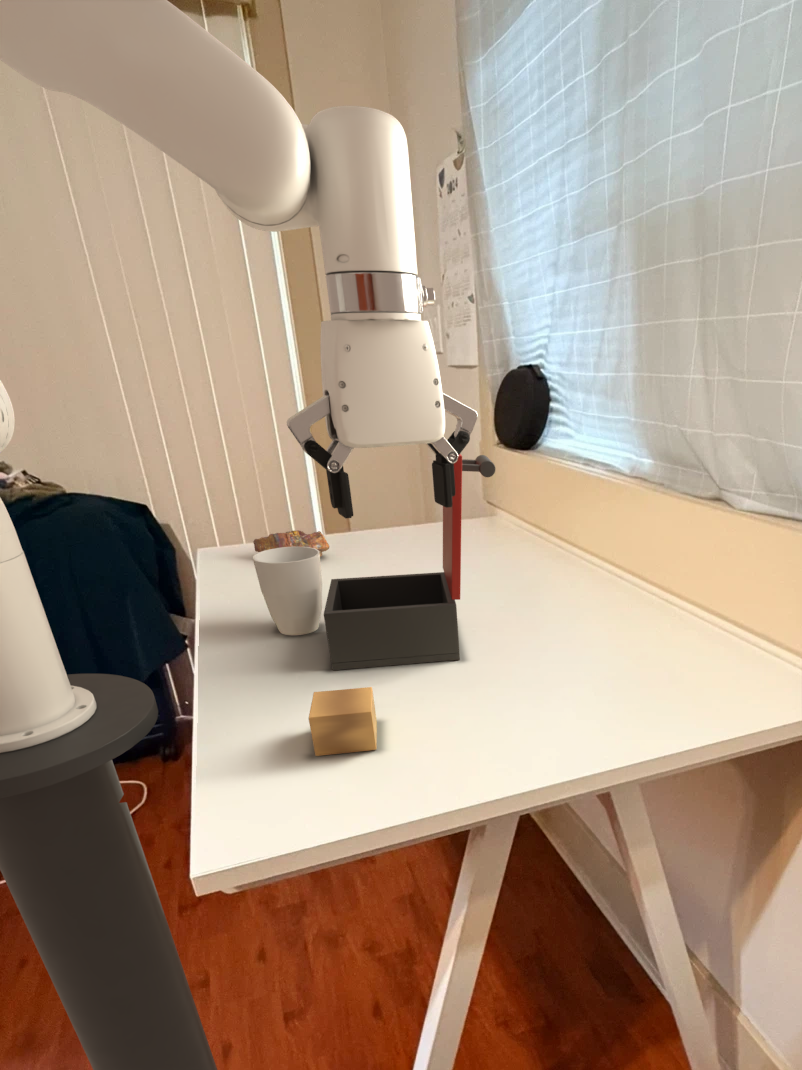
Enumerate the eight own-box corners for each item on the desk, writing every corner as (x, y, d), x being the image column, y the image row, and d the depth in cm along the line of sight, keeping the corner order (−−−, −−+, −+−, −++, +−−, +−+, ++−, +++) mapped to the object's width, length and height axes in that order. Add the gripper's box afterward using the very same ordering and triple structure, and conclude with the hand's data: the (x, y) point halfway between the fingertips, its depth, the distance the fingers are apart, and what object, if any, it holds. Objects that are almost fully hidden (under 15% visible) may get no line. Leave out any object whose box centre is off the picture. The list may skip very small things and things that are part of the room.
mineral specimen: (262, 562, 118) (251, 523, 118) (261, 575, 125) (251, 539, 125) (334, 552, 123) (324, 514, 123) (329, 566, 130) (319, 530, 130)
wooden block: (315, 756, 64) (308, 717, 63) (319, 728, 69) (313, 691, 67) (376, 750, 65) (371, 711, 64) (377, 723, 70) (372, 686, 68)
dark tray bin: (332, 670, 82) (323, 613, 79) (338, 629, 94) (331, 579, 91) (460, 659, 84) (456, 604, 81) (450, 621, 96) (446, 571, 93)
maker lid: (452, 455, 74) (501, 457, 75) (442, 440, 86) (485, 442, 87) (451, 599, 81) (496, 599, 82) (442, 567, 93) (482, 568, 94)
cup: (300, 615, 99) (288, 543, 94) (343, 624, 96) (332, 551, 91) (254, 633, 93) (238, 557, 88) (298, 643, 89) (284, 566, 85)
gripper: (454, 306, 66) (465, 495, 74) (260, 303, 59) (295, 512, 67) (487, 301, 60) (495, 507, 68) (275, 297, 53) (312, 528, 61)
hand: (396, 510), depth 67 cm, fingers open, 9 cm apart
